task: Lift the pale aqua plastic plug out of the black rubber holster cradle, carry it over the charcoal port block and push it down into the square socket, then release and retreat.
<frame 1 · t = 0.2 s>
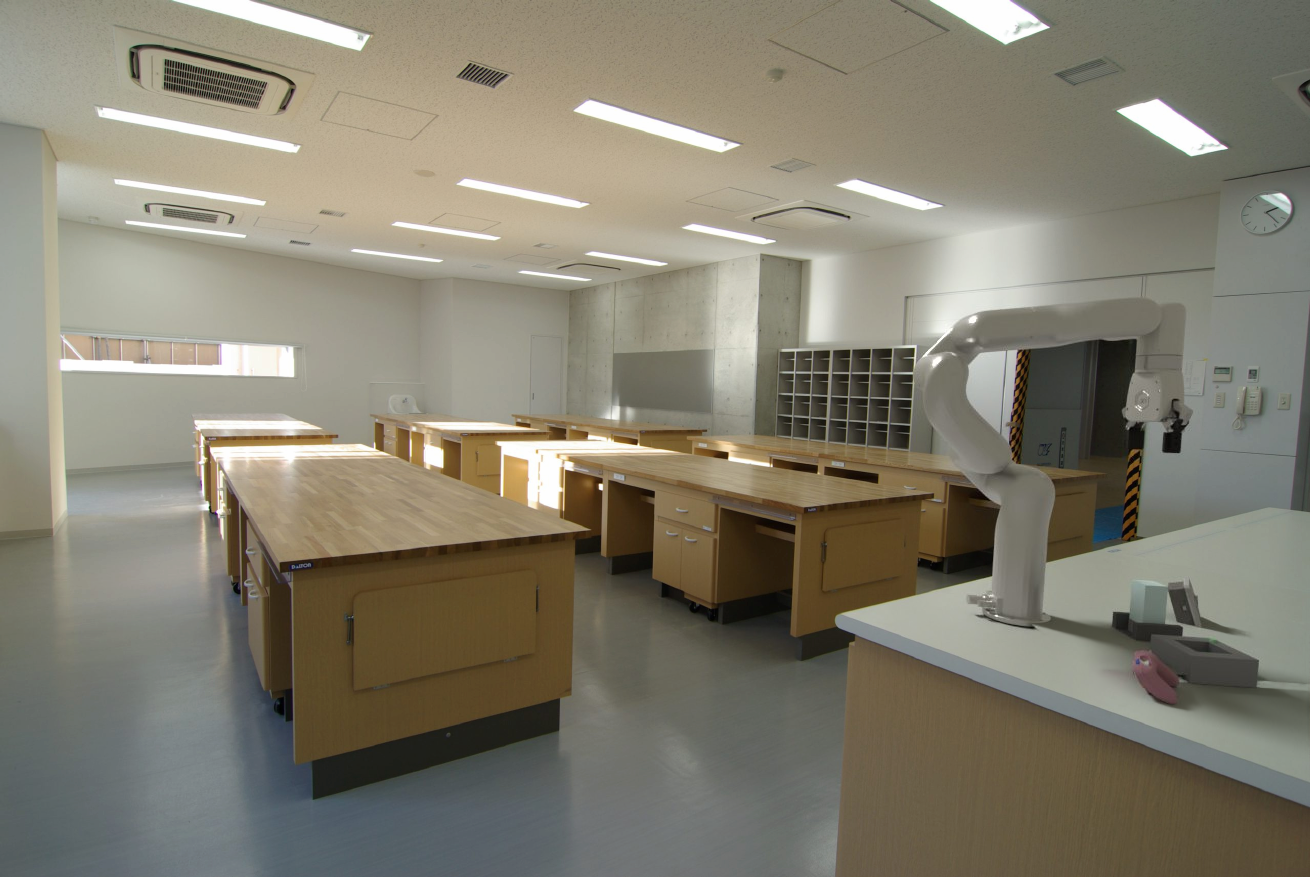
hand: (1152, 451, 133), 36 cm above the table, tool pointing down, fingers open, 9 cm apart
plug: (1145, 634, 127), point 1 cm above the table, touching holster
port: (1200, 672, 111), on the table
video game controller: (1153, 692, 103), on the table
holster: (1145, 639, 127), on the table
electrical switch: (1184, 625, 137), on the table
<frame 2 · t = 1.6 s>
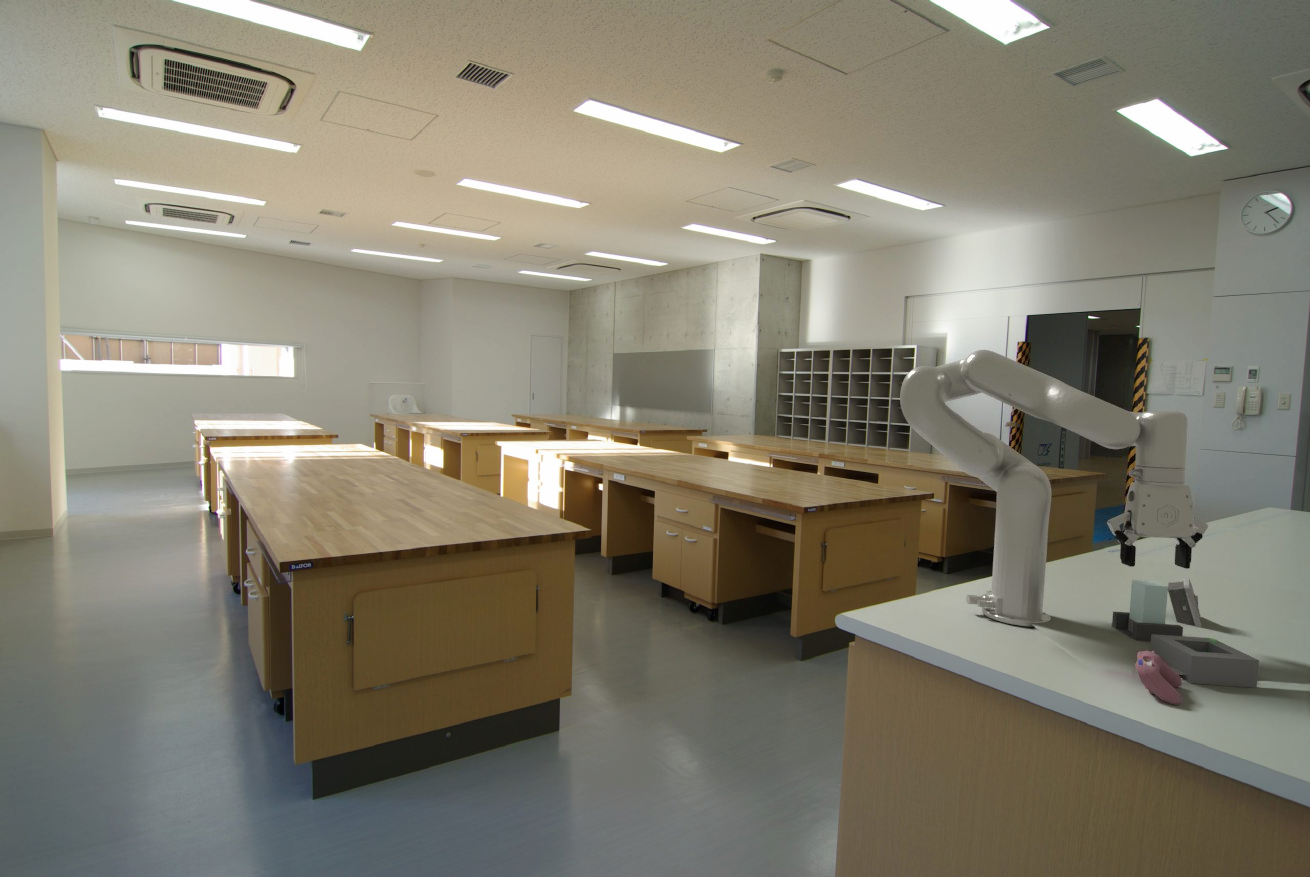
hand: (1154, 565, 126), 14 cm above the table, tool pointing down, fingers open, 9 cm apart
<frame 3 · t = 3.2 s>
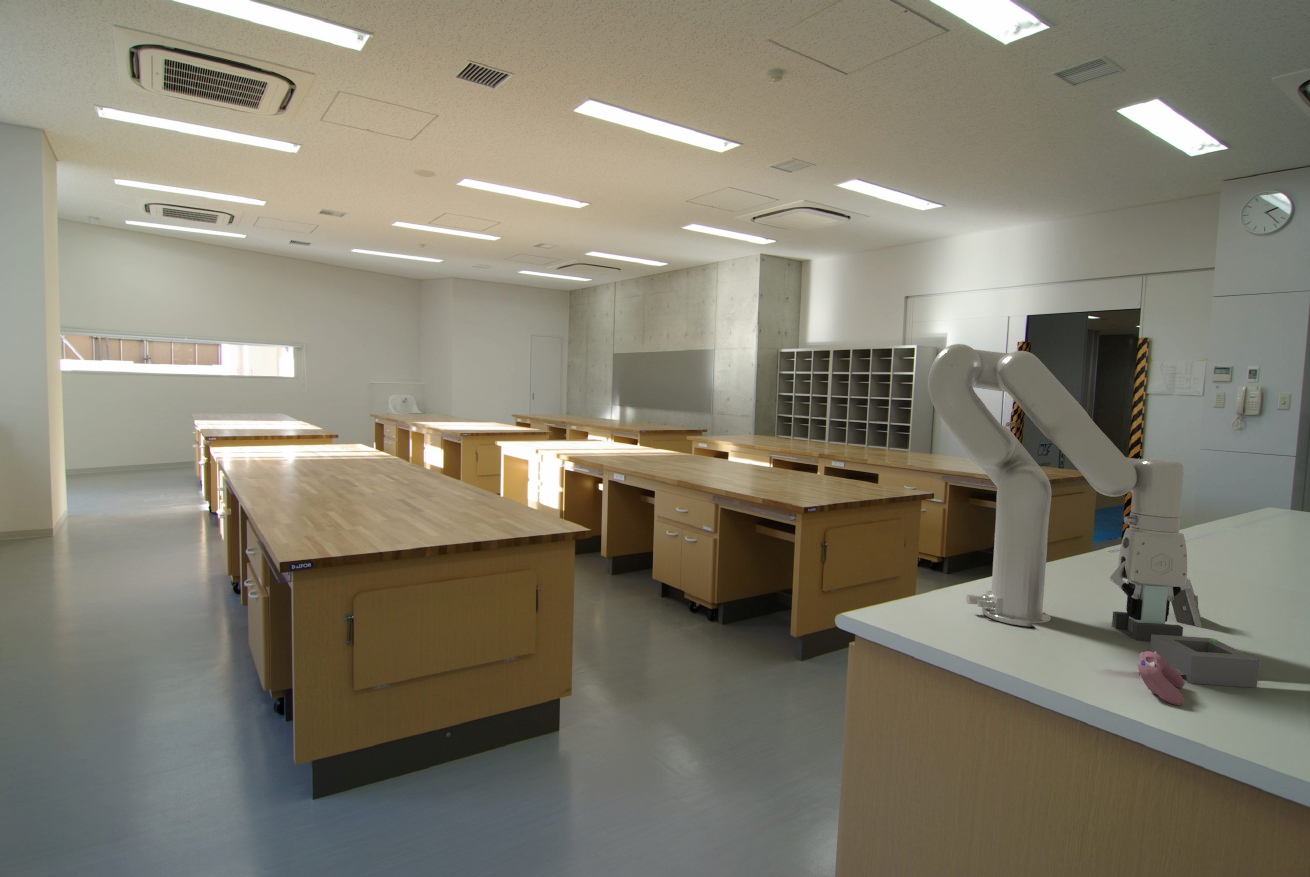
hand: (1146, 617, 127), 4 cm above the table, tool pointing down, fingers closed on plug, 4 cm apart
plug: (1145, 634, 127), point 1 cm above the table, touching gripper, holster
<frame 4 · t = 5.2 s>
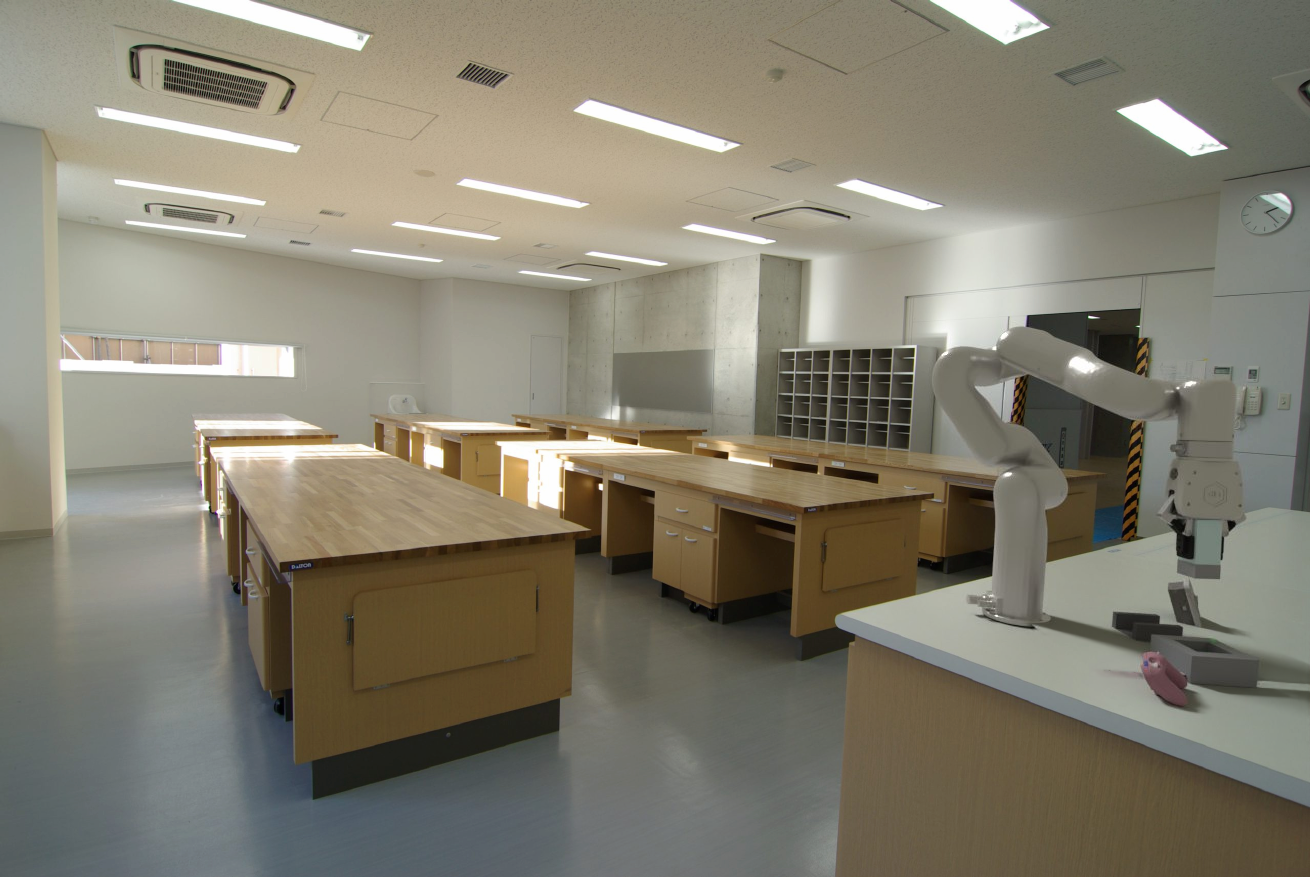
hand: (1199, 557, 113), 19 cm above the table, tool pointing down, fingers closed on plug, 4 cm apart
plug: (1198, 575, 114), point 16 cm above the table, touching gripper
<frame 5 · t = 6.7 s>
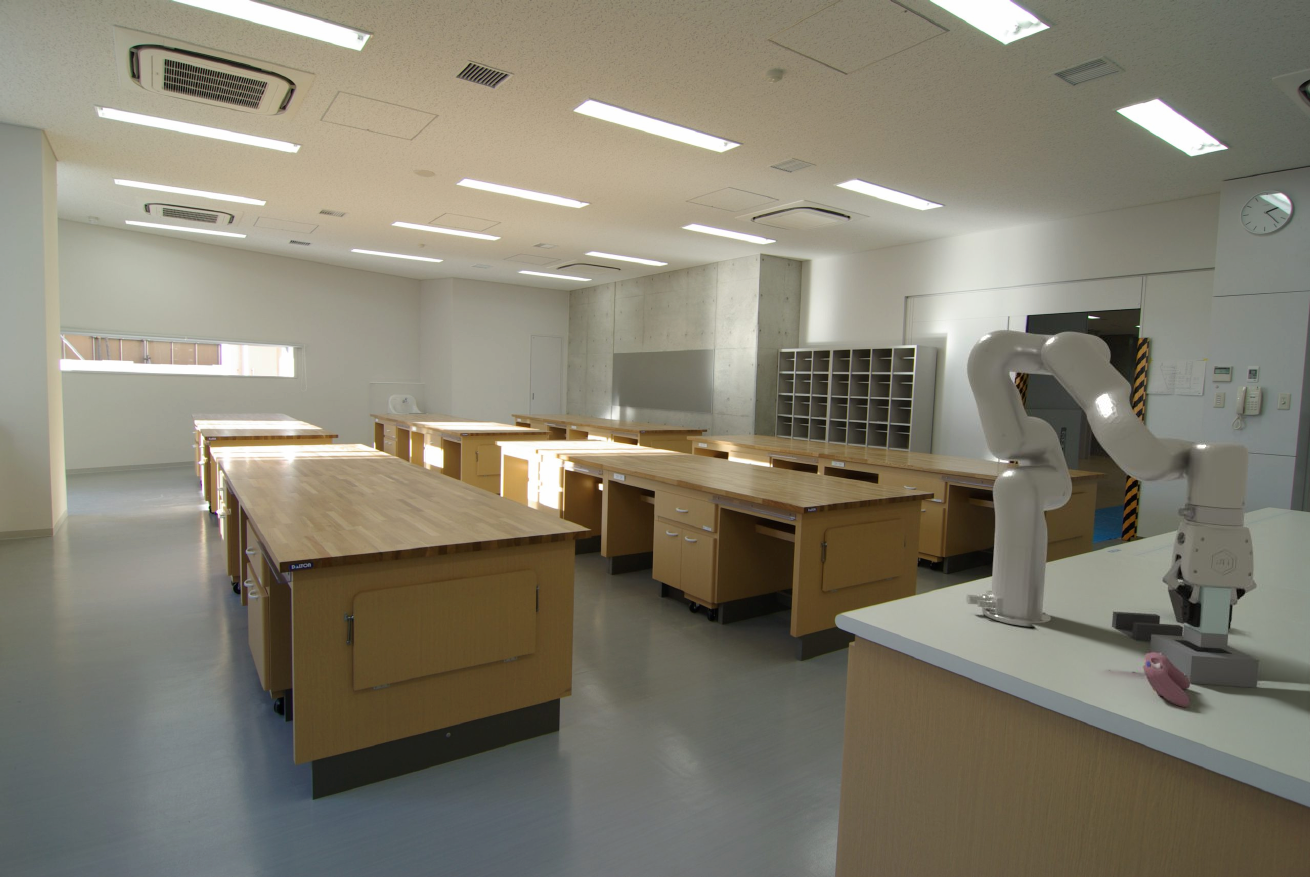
hand: (1205, 624, 110), 8 cm above the table, tool pointing down, fingers closed on plug, 4 cm apart
plug: (1204, 643, 111), point 5 cm above the table, touching gripper
when the fingers open (5 cm above the table, at t = 7.6 s): plug stays where it is, resting on port.
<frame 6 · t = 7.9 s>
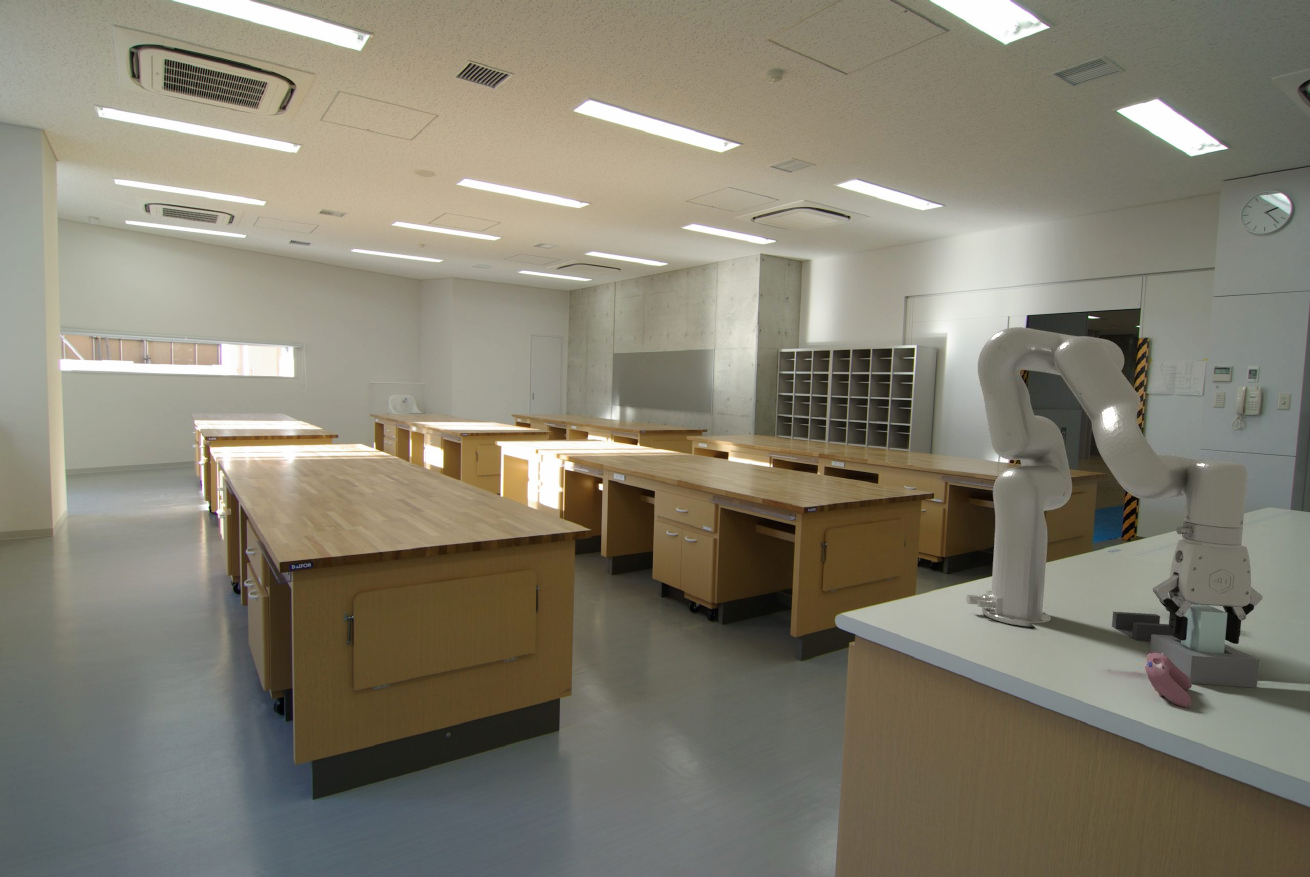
hand: (1203, 638, 111), 6 cm above the table, tool pointing down, fingers open, 7 cm apart
plug: (1200, 666, 111), point 1 cm above the table, touching port
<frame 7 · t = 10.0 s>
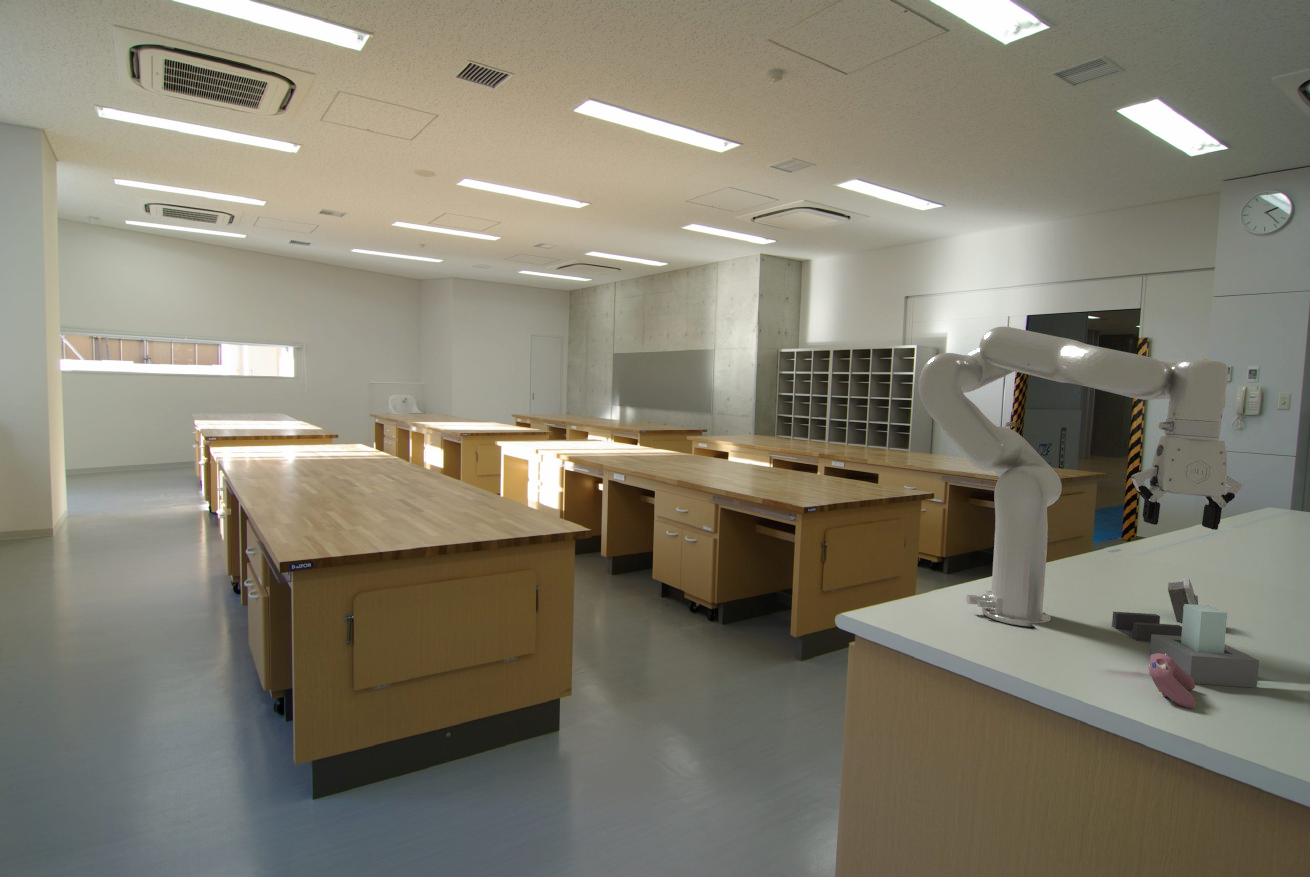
hand: (1179, 525, 118), 23 cm above the table, tool pointing down, fingers open, 9 cm apart
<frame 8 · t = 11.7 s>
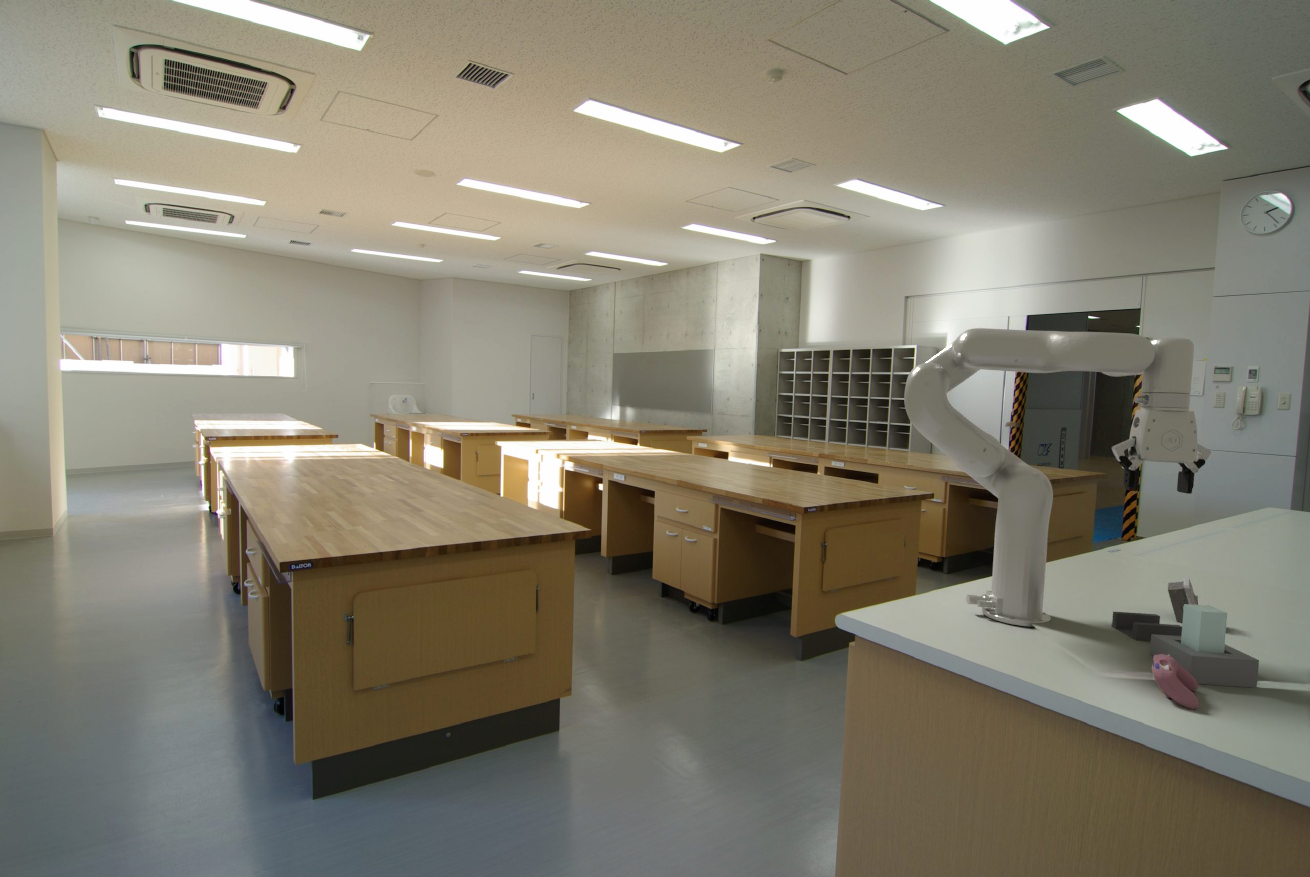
hand: (1157, 491, 128), 28 cm above the table, tool pointing down, fingers open, 9 cm apart
at the end: plug 0.1 cm off-centre on the port, point 1.0 cm above the port's base; plug tilted 0°; the gripper is holding nothing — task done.
